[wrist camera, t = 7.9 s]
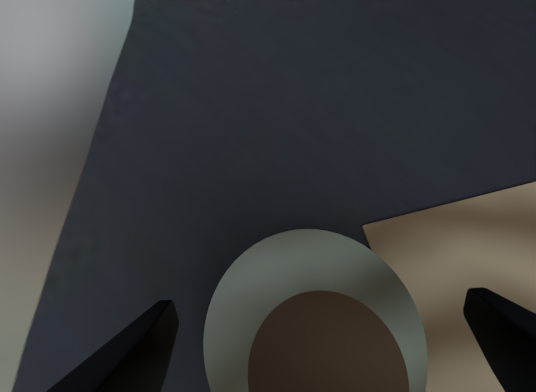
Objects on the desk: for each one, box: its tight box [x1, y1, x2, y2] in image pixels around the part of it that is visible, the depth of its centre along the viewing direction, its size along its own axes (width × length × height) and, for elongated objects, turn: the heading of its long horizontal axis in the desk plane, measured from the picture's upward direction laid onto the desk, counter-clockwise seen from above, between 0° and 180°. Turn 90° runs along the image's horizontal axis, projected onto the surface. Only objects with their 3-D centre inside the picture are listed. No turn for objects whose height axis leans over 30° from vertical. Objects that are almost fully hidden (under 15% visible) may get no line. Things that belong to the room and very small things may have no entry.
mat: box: [362, 182, 536, 392], centre depth 18 cm, size 18×16×1 cm
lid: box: [203, 229, 428, 392], centre depth 11 cm, size 12×12×11 cm
